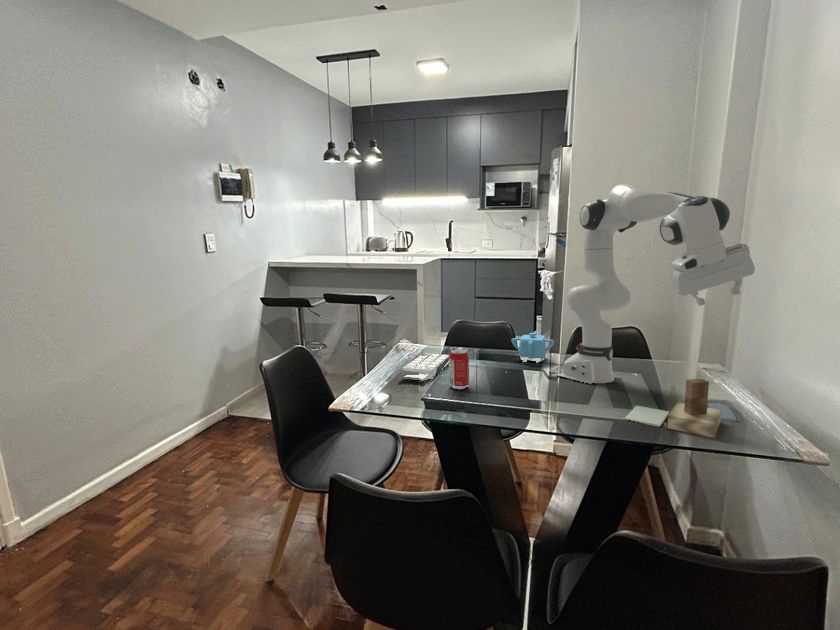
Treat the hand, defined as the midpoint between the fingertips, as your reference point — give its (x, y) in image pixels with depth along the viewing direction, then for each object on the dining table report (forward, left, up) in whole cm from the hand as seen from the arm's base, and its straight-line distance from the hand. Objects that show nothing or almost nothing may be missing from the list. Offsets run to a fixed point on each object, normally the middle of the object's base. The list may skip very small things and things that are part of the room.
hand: (718, 299), depth 130 cm
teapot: (-79, +47, -39) cm, 99 cm away
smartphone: (+1, +17, -39) cm, 43 cm away
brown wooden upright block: (-4, 0, -35) cm, 35 cm away
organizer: (-108, -1, -39) cm, 115 cm away
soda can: (-83, -11, -39) cm, 92 cm away
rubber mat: (-17, -1, -39) cm, 42 cm away
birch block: (-4, 0, -39) cm, 39 cm away
